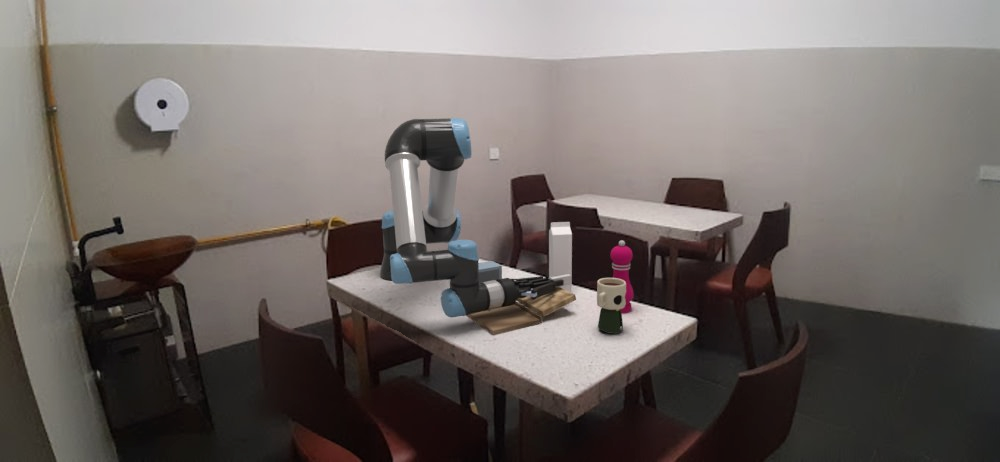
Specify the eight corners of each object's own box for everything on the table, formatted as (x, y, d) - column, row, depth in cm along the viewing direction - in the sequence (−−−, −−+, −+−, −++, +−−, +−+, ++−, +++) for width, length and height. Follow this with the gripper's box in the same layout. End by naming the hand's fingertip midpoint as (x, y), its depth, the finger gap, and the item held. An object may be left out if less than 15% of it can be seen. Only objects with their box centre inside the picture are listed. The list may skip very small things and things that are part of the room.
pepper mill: (618, 315, 140) (620, 244, 136) (601, 307, 147) (603, 239, 142) (638, 310, 144) (641, 241, 139) (621, 303, 150) (623, 236, 145)
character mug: (611, 341, 125) (613, 290, 122) (586, 333, 129) (587, 284, 126) (633, 327, 132) (635, 279, 130) (609, 320, 137) (610, 273, 134)
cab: (444, 305, 151) (442, 267, 148) (500, 294, 159) (499, 258, 157) (455, 314, 144) (453, 274, 141) (513, 301, 153) (513, 264, 150)
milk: (571, 293, 159) (572, 223, 154) (552, 294, 158) (552, 224, 154) (567, 287, 165) (568, 219, 160) (548, 287, 164) (548, 220, 159)
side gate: (512, 294, 150) (542, 279, 154) (513, 299, 151) (544, 284, 155) (542, 311, 136) (575, 294, 141) (543, 316, 137) (576, 299, 141)
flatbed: (463, 312, 145) (462, 306, 145) (508, 302, 152) (508, 297, 151) (492, 335, 129) (492, 328, 129) (542, 323, 136) (542, 316, 136)
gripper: (487, 299, 144) (556, 285, 155) (510, 314, 133) (583, 298, 144) (486, 274, 142) (556, 261, 153) (510, 286, 131) (583, 272, 142)
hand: (569, 279), depth 148 cm, fingers closed
